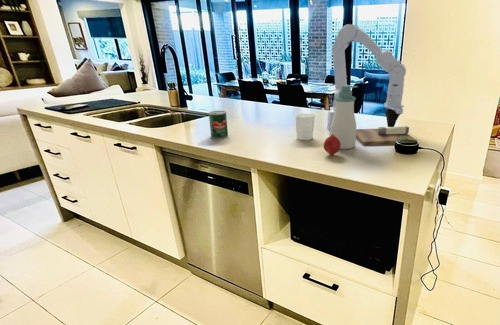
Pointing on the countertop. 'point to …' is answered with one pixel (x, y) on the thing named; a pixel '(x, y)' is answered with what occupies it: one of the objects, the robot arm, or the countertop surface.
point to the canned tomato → (218, 124)
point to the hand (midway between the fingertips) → (390, 127)
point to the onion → (332, 145)
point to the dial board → (379, 137)
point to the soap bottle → (344, 118)
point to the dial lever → (393, 130)
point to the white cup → (305, 126)
